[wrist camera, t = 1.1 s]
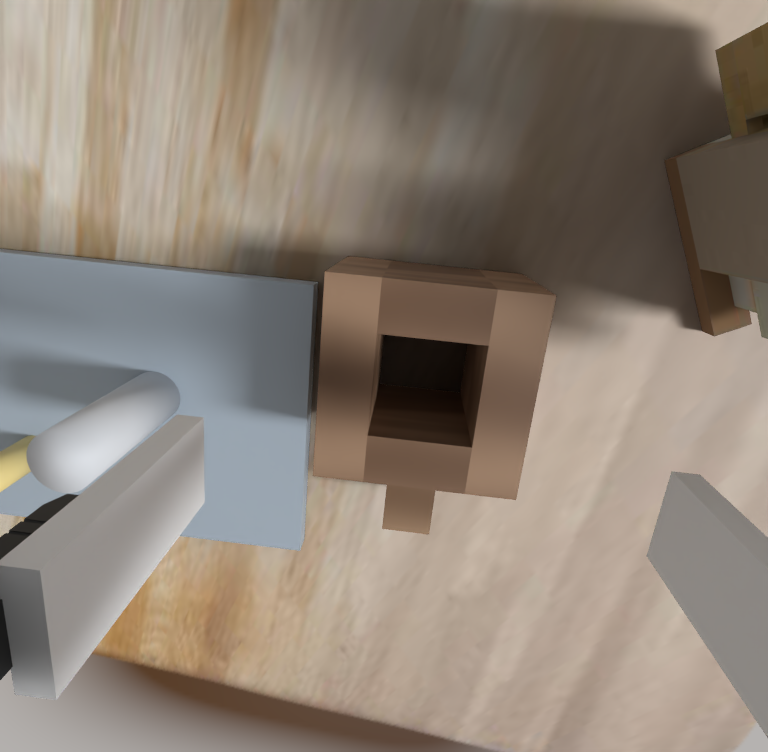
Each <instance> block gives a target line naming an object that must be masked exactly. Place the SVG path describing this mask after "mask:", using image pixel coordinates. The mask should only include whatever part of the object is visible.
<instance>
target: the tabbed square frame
mask: <svg viewBox="0 0 768 752" xmlns="http://www.w3.org/2000/svg"><path fill="white" fill-rule="evenodd" d="M556 297H557V296H556V295H555V294H553V293H552V292H550V291H548V290H547V289H545V288H544V287H542V286H541V285H539V284H537V283H536V282H534V281H533V280H531V279H530V278H528V277H526V276H525V275H523V274H518V273H508V272H498V271H488V270H479V269H469V268H459V267H450V266H440V265H430V264H421V263H411V262H401V261H392V260H382V259H372V258H362V257H353V256H348V257H346V258H345V259H343V260H342V261H340V262H339V263H337V264H335V265H334V266H332V267H331V268H329V269H328V270H326V271H325V275H324V292H323V309H322V327H321V344H320V361H319V378H318V396H317V413H316V430H315V448H314V465H313V476H318V477H326V478H335V479H343V480H352V481H360V482H369V483H377V484H386V485H387V489H386V499H385V508H384V517H383V526H382V529H389V530H397V531H406V532H414V533H422V534H429V530H430V523H431V516H432V509H433V502H434V495H435V490H436V491H445V492H453V493H462V494H470V495H479V496H487V497H496V498H504V499H513V500H516V497H517V492H518V487H519V482H520V477H521V472H522V467H523V462H524V457H525V452H526V447H527V442H528V437H529V432H530V427H531V422H532V417H533V412H534V407H535V402H536V397H537V392H538V387H539V382H540V377H541V372H542V367H543V362H544V357H545V352H546V347H547V342H548V337H549V332H550V327H551V322H552V317H553V312H554V307H555V302H556ZM384 335H393V336H402V337H411V338H421V339H430V340H439V341H448V342H458V343H467V350H466V357H465V363H464V370H463V377H462V383H461V390H460V392H452V391H443V390H434V389H426V388H417V387H408V386H399V385H390V384H381V383H380V374H381V364H382V353H383V343H384Z"/></svg>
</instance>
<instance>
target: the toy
mask: <svg viewBox="0 0 768 752" xmlns="http://www.w3.org/2000/svg"><path fill="white" fill-rule="evenodd" d="M715 51H716V56H717V62H718V67H719V73H720V78H721V83H722V89H723V94H724V100H725V105H726V110H727V116H728V121H729V127H730V132H731V134H730V135H727V136H725V137H722V138H720V139H717V140H715V141H712V142H710V143H707V144H704V145H702V146H699V147H697V148H694V149H692V150H689V151H687V152H684V153H681V154H679V155H676V156H674V157H671V158H669V159H666V160H664V161H665V165H666V170H667V174H668V179H669V183H670V188H671V193H672V197H673V202H674V206H675V211H676V215H677V220H678V224H679V229H680V233H681V238H682V242H683V247H684V251H685V256H686V260H687V265H688V269H689V274H690V278H691V283H692V287H693V292H694V296H695V301H696V306H697V310H698V315H699V319H700V324H701V328H702V331H703V332H706V333H708V334H710V335H712V336H717V335H720V334H723V333H726V332H729V331H732V330H735V329H738V328H741V327H744V326H747V325H750V324H752V323H751V318H750V312H749V311H753V312H756V313H757V314H758V320H759V325H760V330H761V336H762V337H764V338H767V339H768V23H766V24H764V25H762V26H760V27H758V28H756V29H755V30H753V31H751V32H749V33H747V34H745V35H743V36H741V37H740V38H738V39H736V40H734V41H732V42H730V43H728V44H727V45H725V46H723V47H721V48H719V49H717V50H715Z"/></svg>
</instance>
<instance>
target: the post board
mask: <svg viewBox="0 0 768 752" xmlns="http://www.w3.org/2000/svg"><path fill="white" fill-rule="evenodd" d="M317 295H318V282H313V281H303V280H294V279H284V278H275V277H265V276H256V275H246V274H237V273H227V272H218V271H208V270H199V269H189V268H180V267H170V266H161V265H151V264H142V263H132V262H123V261H113V260H104V259H94V258H85V257H75V256H66V255H56V254H46V253H37V252H27V251H18V250H8V249H0V514H6V515H14V516H22V517H27V516H29V515H30V514H31V513H33V512H34V511H35V510H37V509H38V508H39V507H40V506H42V505H43V504H45V503H48V502H50V501H52V500H54V499H57V498H59V497H61V496H63V495H65V494H74V495H80V494H81V493H82V492H83V491H85V490H86V489H87V488H88V487H89V486H91V485H92V484H93V483H94V482H96V481H97V480H98V479H99V478H100V477H102V476H103V475H104V474H105V473H107V472H108V471H109V470H110V469H111V468H113V467H114V466H115V465H116V464H117V463H119V462H120V461H121V460H122V459H124V458H125V457H126V456H127V455H128V454H130V453H131V452H132V451H133V450H135V449H136V448H137V447H138V446H139V445H141V444H142V443H143V442H144V441H146V440H147V439H148V438H149V437H150V436H152V435H153V434H154V433H155V432H156V431H158V430H159V429H160V428H161V427H163V426H164V425H165V424H166V423H167V422H169V421H170V420H171V419H172V418H174V417H175V416H176V415H177V414H178V415H187V416H195V417H204V489H205V503H204V504H203V505H202V507H201V508H200V509H199V511H198V512H197V513H196V515H195V516H194V517H193V519H192V520H191V521H190V523H189V524H188V525H187V527H186V528H185V529H184V531H183V532H182V533H181V535H180V536H185V537H193V538H201V539H209V540H217V541H225V542H233V543H242V544H250V545H258V546H266V547H274V548H282V549H290V550H298V551H300V549H301V546H302V544H303V541H304V534H305V516H306V497H307V479H308V461H309V442H310V424H311V405H312V387H313V368H314V350H315V332H316V313H317Z"/></svg>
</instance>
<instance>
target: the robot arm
mask: <svg viewBox="0 0 768 752" xmlns="http://www.w3.org/2000/svg"><path fill="white" fill-rule="evenodd" d="M204 503H205V489H204V417H195V416H187V415H178V414H177V415H176V416H175V417H174V418H172V419H171V420H170V421H169V422H167V423H166V424H165V425H164V426H163V427H161V428H160V429H159V430H158V431H156V432H155V433H154V434H153V435H152V436H150V437H149V438H148V439H147V440H146V441H144V442H143V443H142V444H141V445H139V446H138V447H137V448H136V449H135V450H133V451H132V452H131V453H130V454H128V455H127V456H126V457H125V458H124V459H122V460H121V461H120V462H119V463H117V464H116V465H115V466H114V467H113V468H111V469H110V470H109V471H108V472H107V473H105V474H104V475H103V476H102V477H100V478H99V479H98V480H97V481H96V482H94V483H93V484H92V485H91V486H89V487H88V488H87V489H86V490H85V491H83V492H82V493H81V494H80V495H74V494H65V495H63V496H61V497H59V498H57V499H54V500H52V501H50V502H48V503H45V504H43V505H42V506H40V507H39V508H38V509H37V510H35V511H34V512H33V513H31V514H30V515H29V516H27V517H26V518H25V520H24V522H20V523H18V524H17V525H16V526H14V527H13V528H12V529H11V530H9V533H8V534H7V533H5V534H4V535H3V536H1V537H0V680H1V679H2V678H3V677H4V676H5V674H6V673H7V672H8V671H9V670H10V669H11V673H12V680H13V686H14V692H15V694H17V695H24V696H31V697H39V698H46V699H54V700H57V699H58V697H59V696H60V695H61V693H62V692H63V691H64V689H65V688H66V687H67V685H68V684H69V683H70V681H71V680H72V679H73V677H74V676H75V675H76V673H77V672H78V670H79V669H80V668H81V667H82V665H83V664H84V663H85V661H86V660H87V659H88V657H89V656H90V655H91V653H92V652H93V651H94V649H95V648H96V647H97V645H98V644H99V643H100V641H101V640H102V639H103V637H104V636H105V635H106V633H107V632H108V631H109V629H110V628H111V627H112V625H113V624H114V623H115V621H116V620H117V619H118V617H119V616H120V615H121V613H122V612H123V611H124V609H125V608H126V607H127V605H128V604H129V603H130V601H131V600H132V599H133V597H134V596H135V595H136V593H137V592H138V591H139V589H140V588H141V587H142V585H143V584H144V583H145V581H146V580H147V579H148V577H149V576H150V575H151V573H152V572H153V571H154V569H155V568H156V567H157V565H158V564H159V563H160V561H161V560H162V559H163V557H164V556H165V555H166V553H167V552H168V551H169V549H170V548H171V547H172V545H173V544H174V543H175V541H176V540H177V539H178V537H179V536H180V535H181V533H182V532H183V531H184V529H185V528H186V527H187V525H188V524H189V523H190V521H191V520H192V519H193V517H194V516H195V515H196V513H197V512H198V511H199V509H200V508H201V507H202V505H203V504H204ZM647 557H648V559H649V560H650V562H651V563H652V565H653V566H654V568H655V569H656V571H657V572H658V574H659V575H660V577H661V578H662V580H663V581H664V583H665V584H666V586H667V587H668V589H669V590H670V592H671V593H672V595H673V596H674V598H675V599H676V601H677V602H678V604H679V605H680V607H681V608H682V610H683V611H684V613H685V614H686V616H687V617H688V619H689V620H690V622H691V623H692V625H693V626H694V628H695V629H696V631H697V632H698V634H699V635H700V637H701V638H702V640H703V641H704V643H705V644H706V646H707V647H708V649H709V650H710V652H711V653H712V655H713V656H714V658H715V659H716V661H717V662H718V664H719V665H720V667H721V668H722V670H723V671H724V673H725V674H726V676H727V677H728V679H729V680H730V682H731V683H732V685H733V686H734V688H735V689H736V691H737V692H738V694H739V695H740V697H741V698H742V700H743V701H744V703H745V704H746V706H747V707H748V709H749V710H750V712H751V713H752V715H753V716H754V718H755V719H756V721H757V723H758V724H759V726H760V727H761V728H762V730H763V732H764V733H765V734H766V736H767V737H768V537H766V536H765V535H764V534H763V533H762V532H761V531H760V530H759V529H758V528H757V527H756V526H755V525H754V524H752V523H751V522H750V521H749V520H748V519H747V518H746V517H745V516H744V515H743V514H742V513H741V512H739V511H738V510H737V509H736V508H735V507H734V506H733V505H732V504H731V503H730V502H729V501H728V500H727V499H725V498H724V497H723V496H722V495H721V494H720V493H719V492H718V491H717V490H716V489H715V488H714V487H713V486H711V485H710V484H709V483H708V482H707V481H706V480H705V479H704V478H703V477H702V476H701V475H698V474H689V473H681V472H671V475H670V479H669V482H668V485H667V489H666V492H665V496H664V499H663V502H662V506H661V509H660V513H659V516H658V519H657V523H656V526H655V530H654V533H653V536H652V540H651V543H650V547H649V550H648V553H647Z"/></svg>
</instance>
